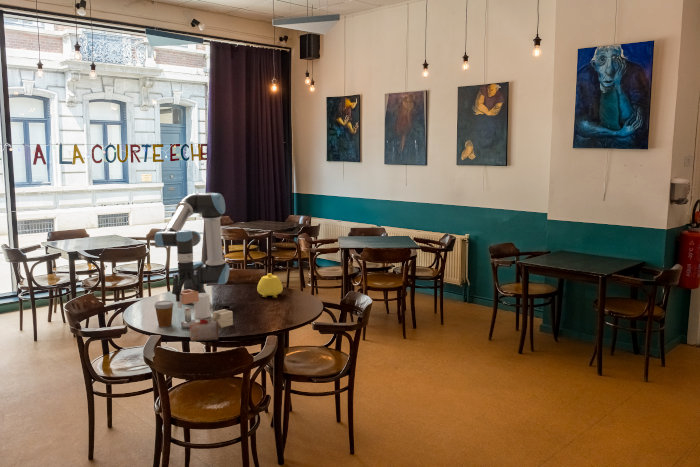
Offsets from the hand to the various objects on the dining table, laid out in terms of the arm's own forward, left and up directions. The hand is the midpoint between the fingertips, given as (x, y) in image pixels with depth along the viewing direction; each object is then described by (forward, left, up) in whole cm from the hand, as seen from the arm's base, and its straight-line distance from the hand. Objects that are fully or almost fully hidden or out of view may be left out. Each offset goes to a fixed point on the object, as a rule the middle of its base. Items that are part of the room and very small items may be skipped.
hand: (187, 305), depth 306 cm
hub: (0, 0, -11) cm, 11 cm away
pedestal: (+10, +14, -11) cm, 21 cm away
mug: (-13, +17, -11) cm, 24 cm away
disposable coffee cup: (-12, -6, -11) cm, 18 cm away
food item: (+22, -6, -12) cm, 26 cm away
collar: (0, 0, +2) cm, 2 cm away
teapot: (-20, +72, -12) cm, 76 cm away
